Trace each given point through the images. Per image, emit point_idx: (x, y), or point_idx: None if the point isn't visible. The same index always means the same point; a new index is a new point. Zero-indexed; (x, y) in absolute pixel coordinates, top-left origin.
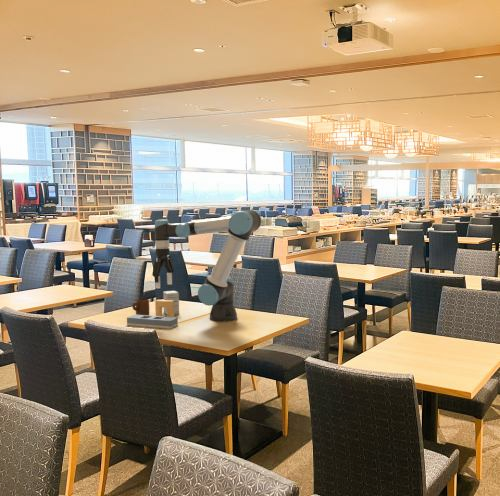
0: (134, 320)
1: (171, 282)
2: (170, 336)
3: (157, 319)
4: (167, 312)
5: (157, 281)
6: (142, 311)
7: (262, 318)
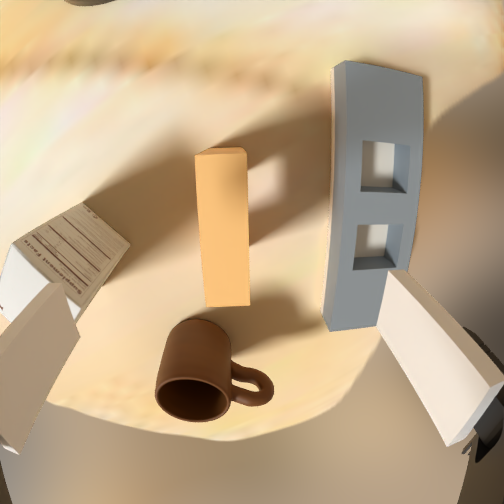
0: None
1: (47, 298)
2: (482, 55)
3: (415, 157)
4: (126, 248)
5: (473, 336)
6: (224, 347)
7: None
